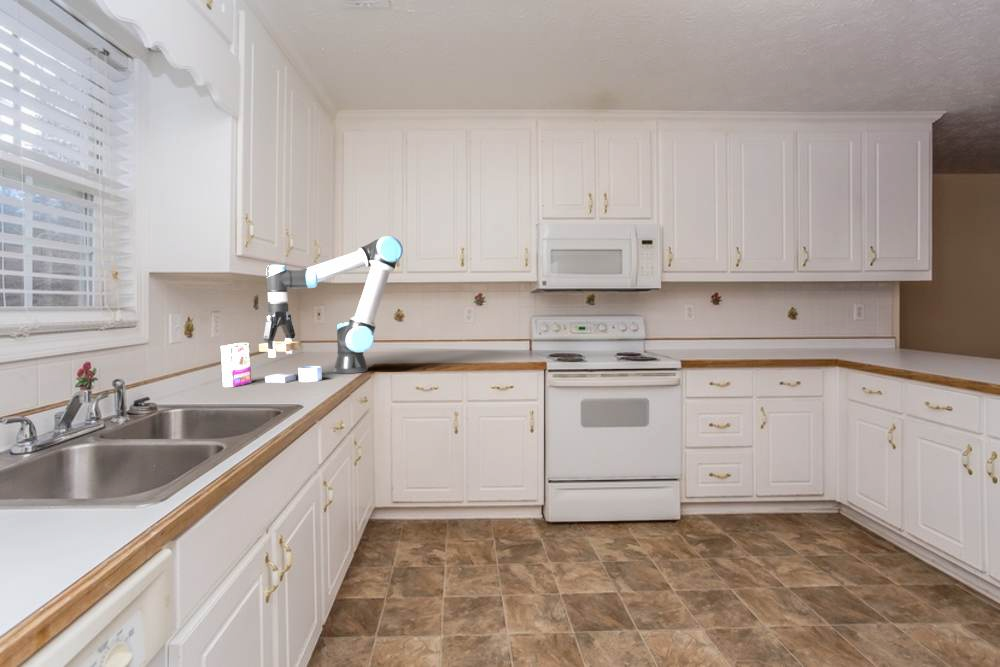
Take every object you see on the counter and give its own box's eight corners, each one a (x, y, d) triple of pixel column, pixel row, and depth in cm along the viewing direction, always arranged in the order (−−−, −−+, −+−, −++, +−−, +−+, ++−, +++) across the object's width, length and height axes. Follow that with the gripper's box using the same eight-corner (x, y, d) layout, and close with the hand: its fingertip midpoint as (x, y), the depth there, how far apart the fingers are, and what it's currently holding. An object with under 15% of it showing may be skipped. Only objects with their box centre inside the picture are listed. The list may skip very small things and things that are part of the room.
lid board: (275, 348, 216) (275, 341, 215) (301, 348, 213) (301, 341, 213) (259, 351, 205) (258, 344, 205) (286, 351, 203) (285, 344, 202)
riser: (277, 379, 215) (276, 373, 214) (296, 379, 213) (296, 374, 213) (265, 382, 207) (264, 376, 207) (285, 382, 205) (284, 376, 205)
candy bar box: (240, 382, 207) (239, 342, 206) (251, 382, 206) (250, 343, 205) (221, 387, 196) (219, 345, 195) (233, 387, 195) (231, 345, 194)
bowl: (306, 378, 217) (306, 365, 216) (324, 378, 215) (324, 366, 215) (295, 381, 208) (294, 368, 208) (314, 382, 207) (313, 368, 207)
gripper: (286, 302, 220) (289, 352, 221) (251, 303, 197) (254, 359, 198) (302, 302, 219) (304, 352, 220) (268, 303, 196) (271, 359, 197)
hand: (281, 355), depth 209 cm, fingers closed on lid board, 11 cm apart
